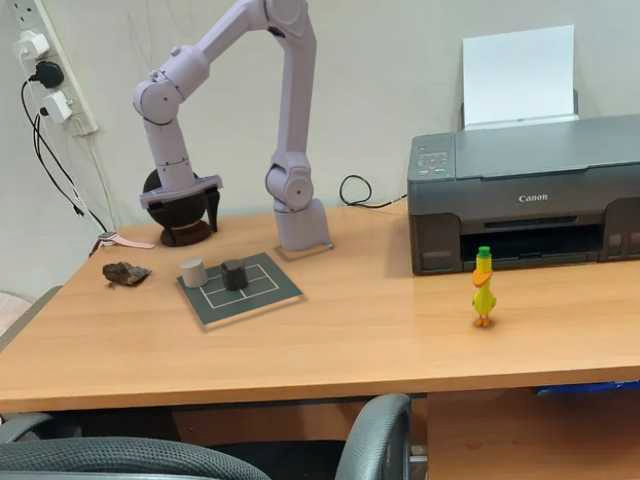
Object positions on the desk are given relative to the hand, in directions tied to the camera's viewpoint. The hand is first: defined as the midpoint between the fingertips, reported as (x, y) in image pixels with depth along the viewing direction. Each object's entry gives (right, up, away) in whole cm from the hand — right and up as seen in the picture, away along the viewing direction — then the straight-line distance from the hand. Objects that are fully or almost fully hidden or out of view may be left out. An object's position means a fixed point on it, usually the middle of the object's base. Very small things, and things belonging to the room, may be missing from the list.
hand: (194, 236), depth 121 cm
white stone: (0, -8, +2) cm, 8 cm away
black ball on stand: (-8, +8, +25) cm, 27 cm away
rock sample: (-15, -6, +9) cm, 18 cm away
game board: (+8, -10, 0) cm, 13 cm away
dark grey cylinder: (+8, -9, -1) cm, 12 cm away
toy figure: (+49, -19, -19) cm, 56 cm away
